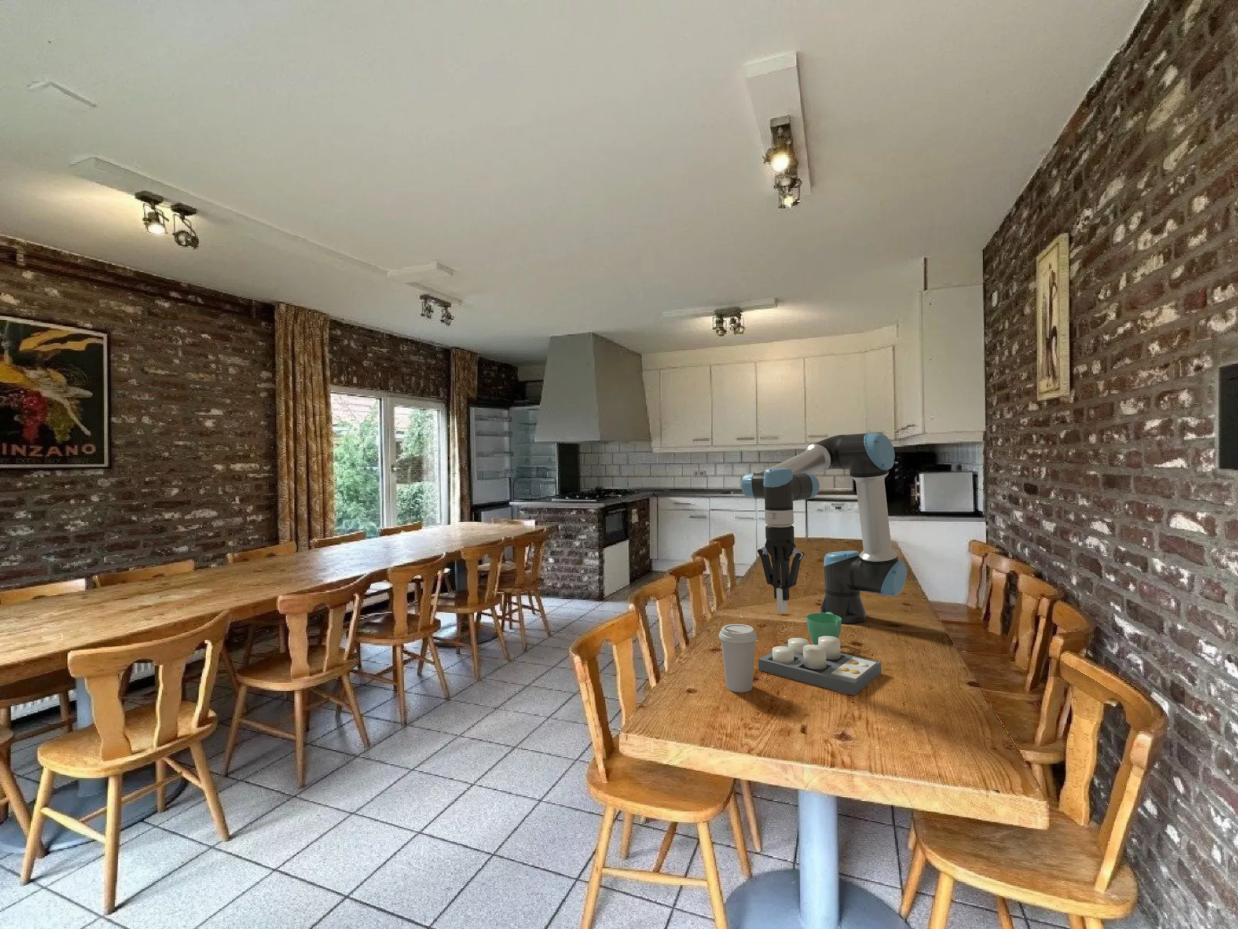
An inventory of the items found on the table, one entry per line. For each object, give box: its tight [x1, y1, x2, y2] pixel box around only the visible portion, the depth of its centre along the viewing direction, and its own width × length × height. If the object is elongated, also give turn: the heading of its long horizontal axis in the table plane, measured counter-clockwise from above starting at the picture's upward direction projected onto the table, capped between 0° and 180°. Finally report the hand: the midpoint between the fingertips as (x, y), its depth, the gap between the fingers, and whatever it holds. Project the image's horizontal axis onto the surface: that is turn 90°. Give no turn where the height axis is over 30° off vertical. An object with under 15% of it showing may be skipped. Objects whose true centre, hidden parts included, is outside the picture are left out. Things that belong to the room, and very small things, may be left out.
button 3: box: [803, 644, 826, 669], centre depth 149 cm, size 6×6×4 cm
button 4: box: [818, 636, 841, 659], centre depth 156 cm, size 6×6×4 cm
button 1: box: [771, 645, 794, 665], centre depth 156 cm, size 6×6×4 cm
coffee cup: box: [718, 623, 758, 694], centre depth 145 cm, size 10×10×15 cm
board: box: [758, 642, 882, 697], centre depth 153 cm, size 18×26×4 cm
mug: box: [805, 612, 842, 645], centre depth 171 cm, size 15×10×10 cm
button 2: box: [787, 637, 810, 655], centre depth 162 cm, size 6×6×4 cm
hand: (782, 611), depth 156 cm, fingers closed
